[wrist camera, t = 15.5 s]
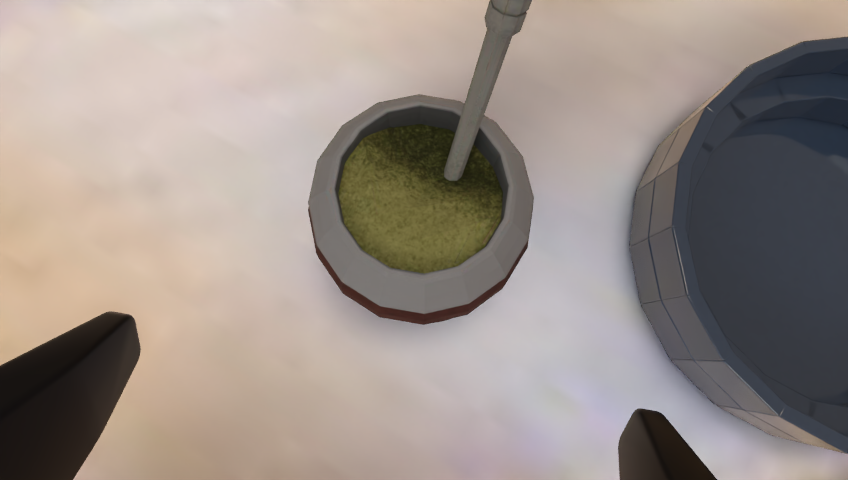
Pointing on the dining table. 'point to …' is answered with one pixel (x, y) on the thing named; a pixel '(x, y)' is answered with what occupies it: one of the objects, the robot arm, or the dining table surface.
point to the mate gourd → (426, 197)
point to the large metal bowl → (757, 245)
